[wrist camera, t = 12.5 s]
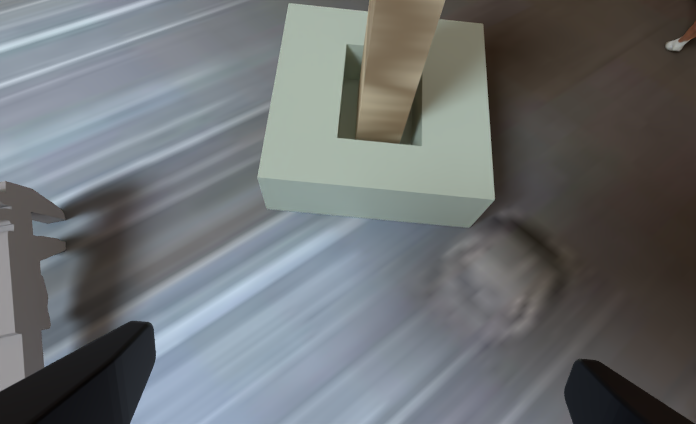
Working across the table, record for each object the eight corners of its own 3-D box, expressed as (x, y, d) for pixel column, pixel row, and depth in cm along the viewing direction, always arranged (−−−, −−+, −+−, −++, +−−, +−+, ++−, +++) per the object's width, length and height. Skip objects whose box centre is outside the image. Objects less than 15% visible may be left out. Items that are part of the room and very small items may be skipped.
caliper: (48, 217, 24) (-37, 163, 18) (69, 213, 24) (-9, 158, 19) (38, 687, 17) (-112, 843, 11) (67, 677, 17) (-64, 826, 11)
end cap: (463, 69, 30) (483, 23, 26) (469, 228, 25) (494, 199, 21) (292, 51, 30) (288, 3, 26) (266, 209, 25) (257, 177, 21)
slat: (396, 95, 27) (455, -135, 15) (395, 155, 26) (461, -51, 14) (357, 92, 27) (387, -142, 15) (354, 152, 26) (384, -59, 14)
